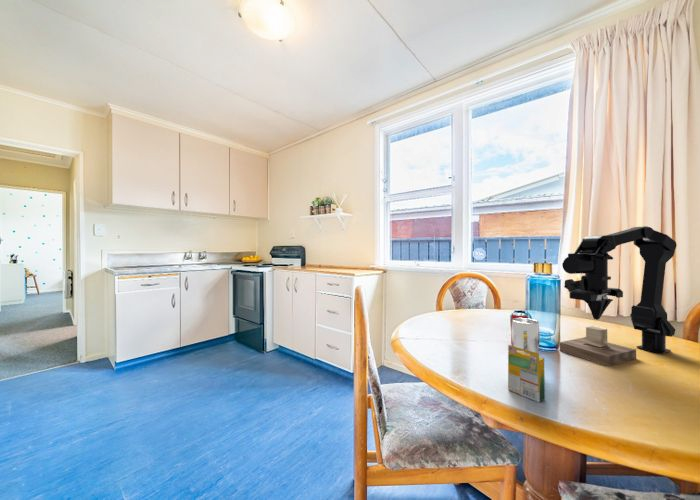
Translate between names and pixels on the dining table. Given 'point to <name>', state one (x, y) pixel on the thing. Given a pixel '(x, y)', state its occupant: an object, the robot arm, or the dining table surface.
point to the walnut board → (598, 352)
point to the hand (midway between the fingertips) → (596, 319)
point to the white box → (525, 334)
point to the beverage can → (516, 315)
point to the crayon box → (526, 374)
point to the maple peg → (596, 337)
